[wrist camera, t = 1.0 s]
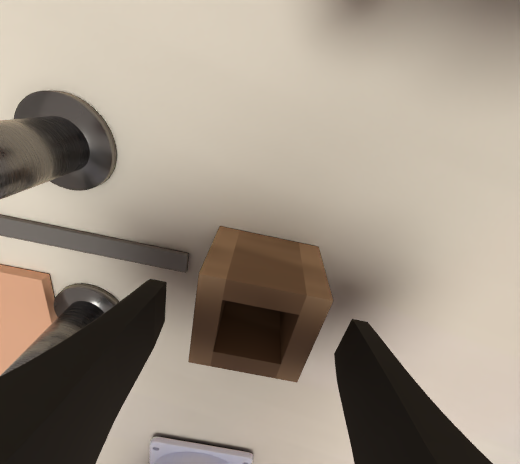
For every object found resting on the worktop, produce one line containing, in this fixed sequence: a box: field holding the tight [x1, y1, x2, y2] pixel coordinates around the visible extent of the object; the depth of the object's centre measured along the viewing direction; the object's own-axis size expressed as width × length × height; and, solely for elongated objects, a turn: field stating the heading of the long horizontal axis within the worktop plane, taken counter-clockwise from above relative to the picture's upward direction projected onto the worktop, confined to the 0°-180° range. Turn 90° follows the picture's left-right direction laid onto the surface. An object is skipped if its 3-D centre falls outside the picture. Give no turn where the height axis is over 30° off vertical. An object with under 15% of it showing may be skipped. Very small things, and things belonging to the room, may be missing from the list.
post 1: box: [0, 91, 117, 199], centre depth 8 cm, size 4×4×6 cm
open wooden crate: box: [188, 226, 333, 382], centre depth 11 cm, size 4×4×4 cm
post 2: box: [0, 284, 119, 376], centre depth 12 cm, size 4×4×6 cm
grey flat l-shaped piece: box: [0, 215, 189, 273], centre depth 13 cm, size 4×12×1 cm, turn 78°
